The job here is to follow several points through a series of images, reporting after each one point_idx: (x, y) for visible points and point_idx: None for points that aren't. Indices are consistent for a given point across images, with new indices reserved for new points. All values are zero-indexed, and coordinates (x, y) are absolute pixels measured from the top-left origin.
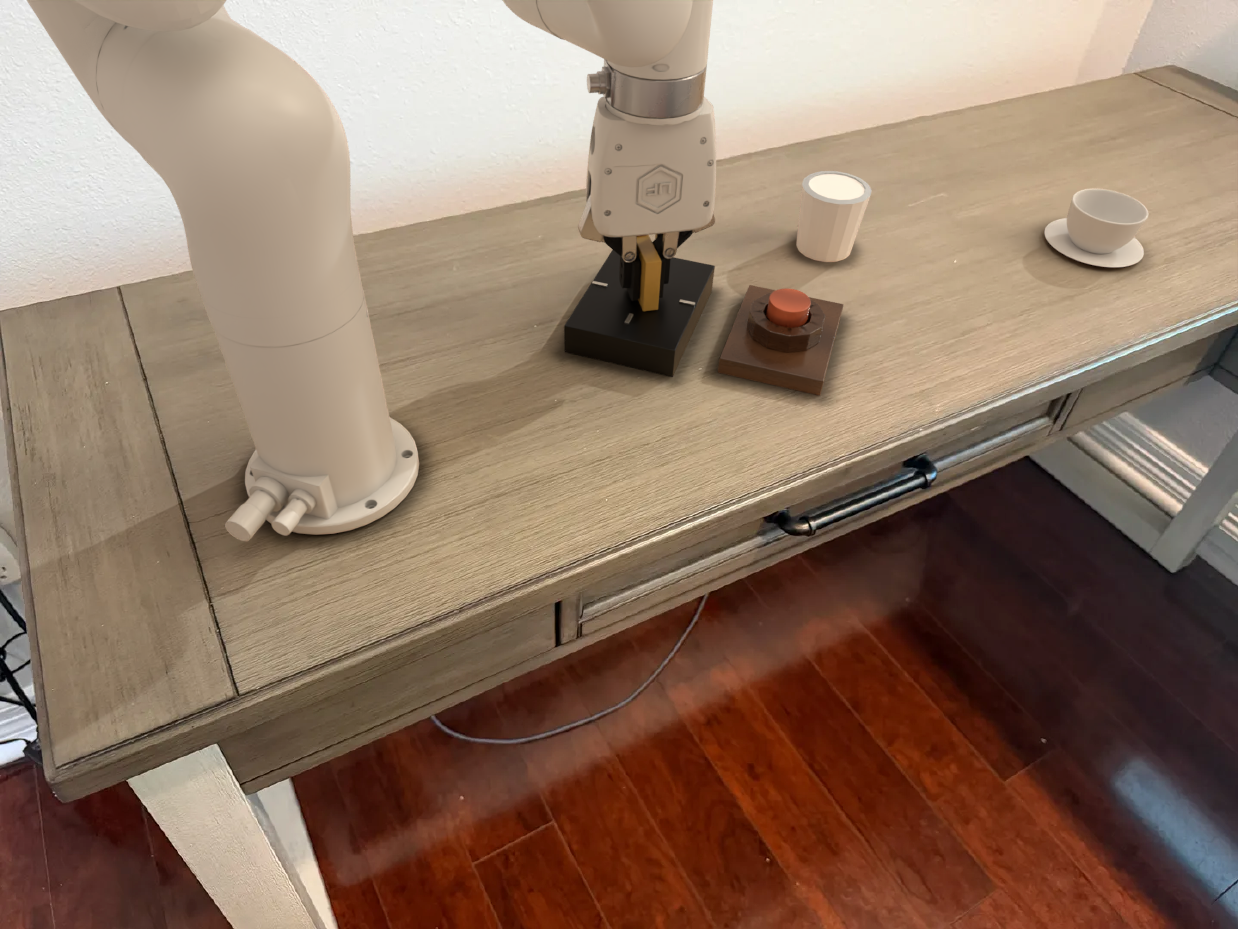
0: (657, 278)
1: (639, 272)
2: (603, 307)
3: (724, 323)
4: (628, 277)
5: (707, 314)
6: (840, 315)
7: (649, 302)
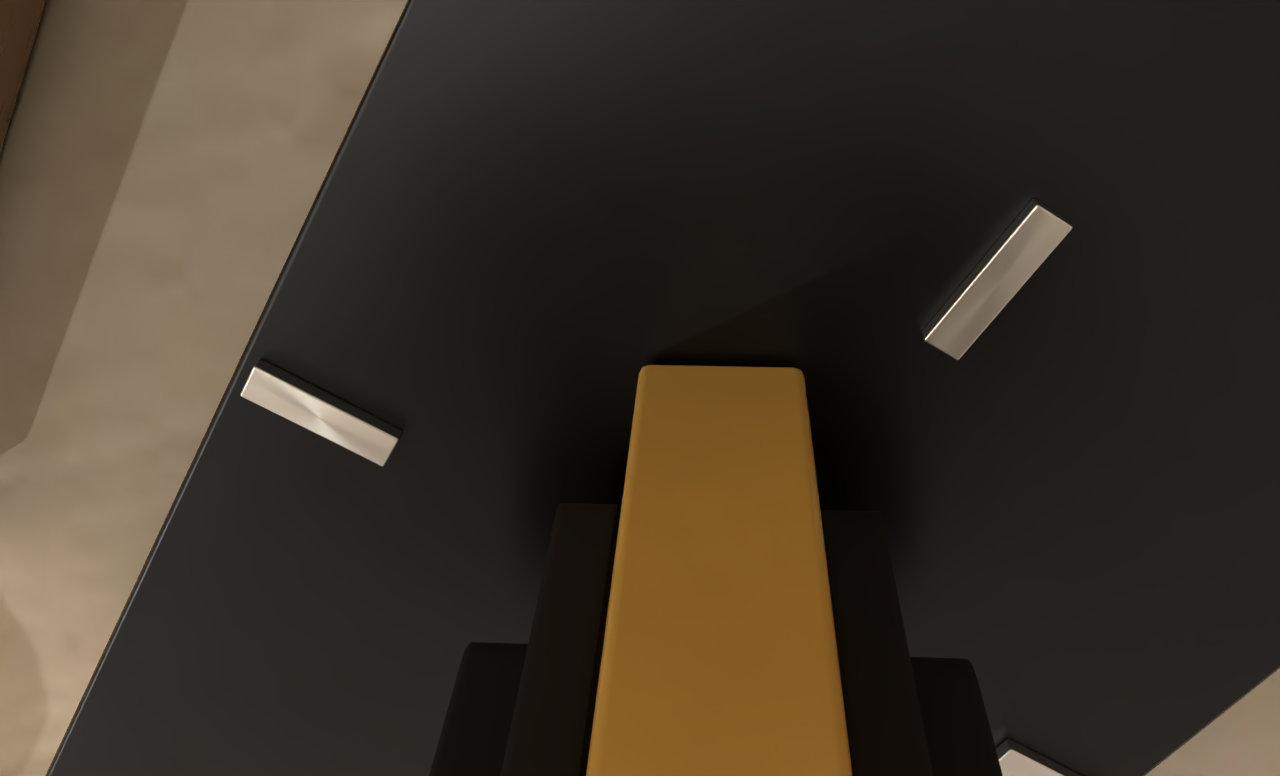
0: (649, 627)
1: (855, 771)
2: (1164, 500)
3: (72, 297)
4: (934, 751)
5: (197, 420)
6: None
7: (740, 420)
